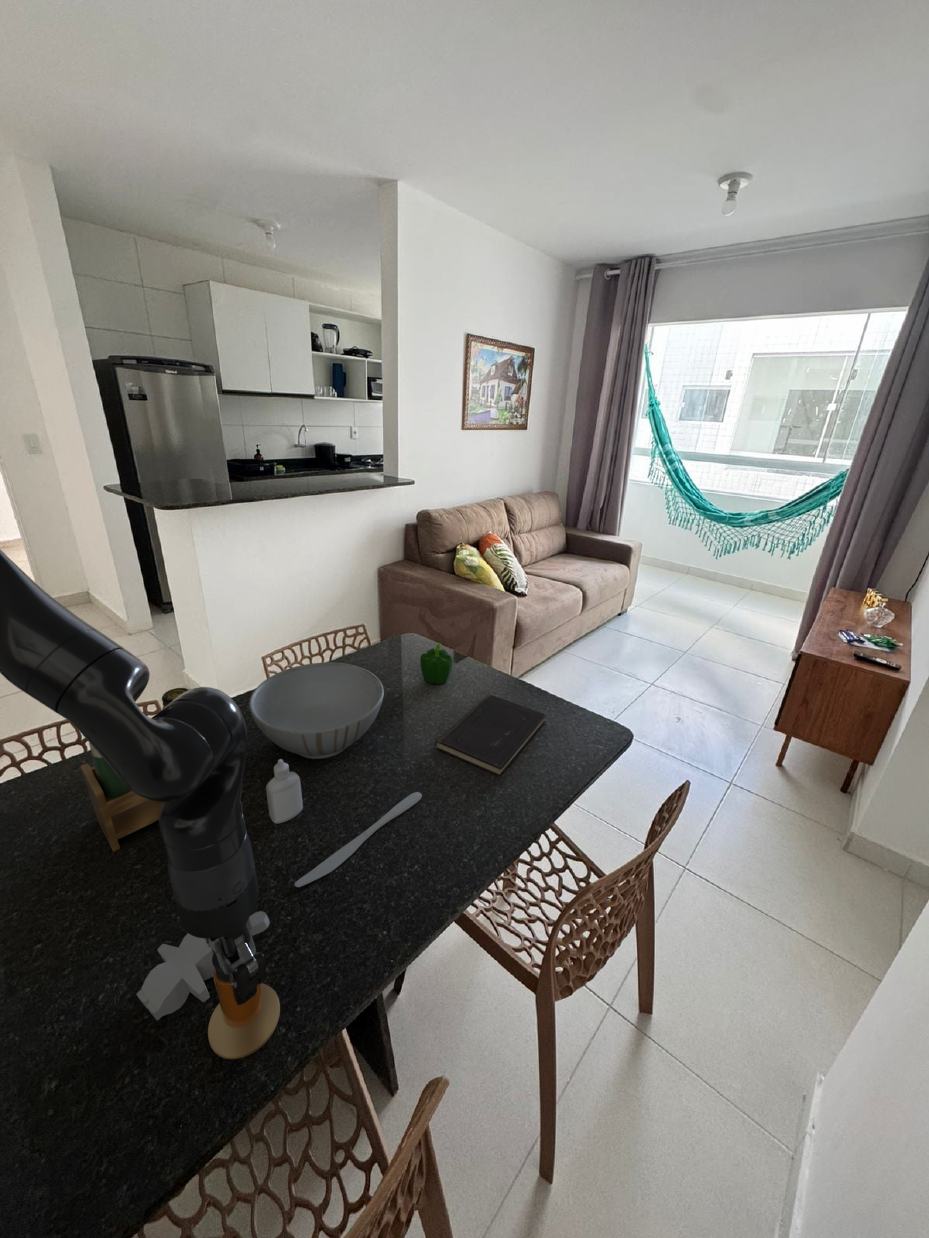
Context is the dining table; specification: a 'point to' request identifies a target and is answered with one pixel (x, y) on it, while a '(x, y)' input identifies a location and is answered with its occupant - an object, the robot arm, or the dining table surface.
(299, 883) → the butter knife
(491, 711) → the hardcover book
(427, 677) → the bell pepper
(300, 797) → the eye dropper bottle
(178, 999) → the bunny figurine
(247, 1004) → the amber spice bottle
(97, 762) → the green spice bottle
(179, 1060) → the dining table surface
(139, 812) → the spice rack
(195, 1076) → the dining table surface
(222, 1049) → the cork coaster
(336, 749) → the decorative bowl
